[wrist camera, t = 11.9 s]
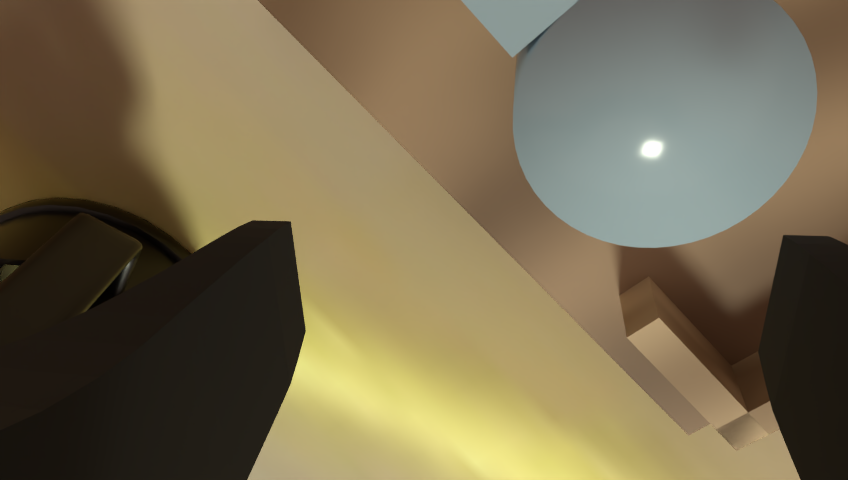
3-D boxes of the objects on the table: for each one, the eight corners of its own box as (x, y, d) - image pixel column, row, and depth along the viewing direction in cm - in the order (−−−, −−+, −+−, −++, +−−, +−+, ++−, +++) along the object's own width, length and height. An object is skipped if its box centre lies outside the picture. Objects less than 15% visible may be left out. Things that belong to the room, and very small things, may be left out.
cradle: (1085, 199, 20) (1163, 255, 17) (683, 417, 25) (700, 484, 22) (662, -448, 15) (689, -500, 12) (265, -9, 20) (228, 17, 17)
